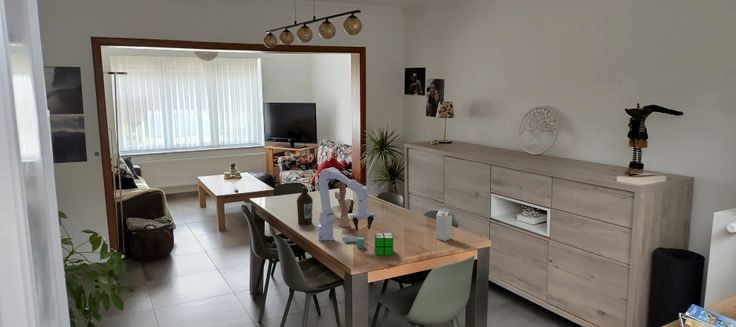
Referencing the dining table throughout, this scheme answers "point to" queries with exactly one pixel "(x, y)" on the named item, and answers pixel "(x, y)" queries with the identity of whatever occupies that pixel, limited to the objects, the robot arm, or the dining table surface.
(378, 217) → the dining table surface
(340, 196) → the brown statue
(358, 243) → the teal block
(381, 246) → the puzzle cube
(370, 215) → the robot arm
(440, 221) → the milk carton
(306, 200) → the olive oil
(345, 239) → the gray block
